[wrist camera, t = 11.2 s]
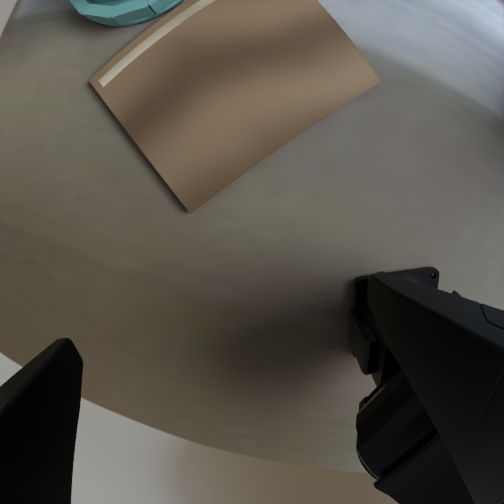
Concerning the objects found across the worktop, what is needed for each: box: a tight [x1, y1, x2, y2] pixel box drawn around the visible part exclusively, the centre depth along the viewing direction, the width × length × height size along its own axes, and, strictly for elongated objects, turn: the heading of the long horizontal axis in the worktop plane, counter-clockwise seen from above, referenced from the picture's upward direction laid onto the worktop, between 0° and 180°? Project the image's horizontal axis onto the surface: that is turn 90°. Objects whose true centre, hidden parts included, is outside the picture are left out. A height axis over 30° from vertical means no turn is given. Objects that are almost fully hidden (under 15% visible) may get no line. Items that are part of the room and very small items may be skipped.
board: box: [89, 0, 381, 214], centre depth 16 cm, size 11×14×1 cm
